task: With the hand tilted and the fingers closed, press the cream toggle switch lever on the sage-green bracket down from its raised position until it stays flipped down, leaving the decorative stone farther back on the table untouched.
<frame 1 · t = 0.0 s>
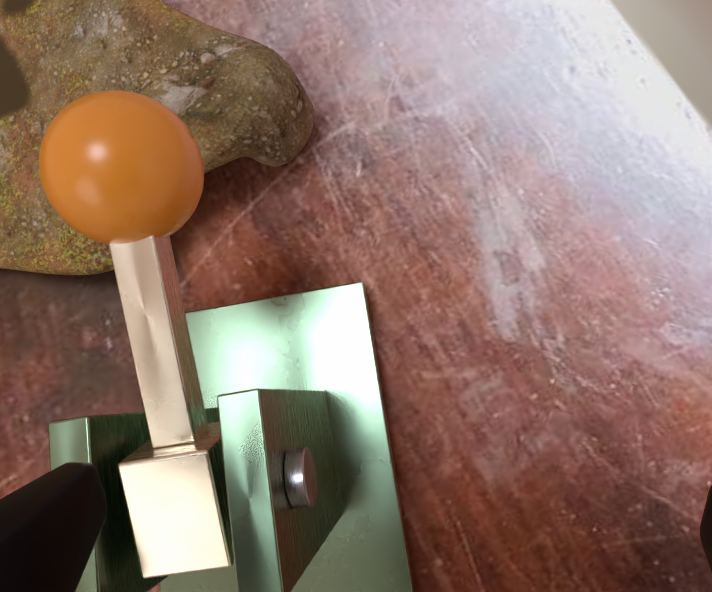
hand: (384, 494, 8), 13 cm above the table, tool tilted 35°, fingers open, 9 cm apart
switch bracket: (275, 457, 22), on the table
decorative stone: (21, 117, 26), on the table
switch lever: (158, 327, 14), point 9 cm above the table, hinge at 15.0°
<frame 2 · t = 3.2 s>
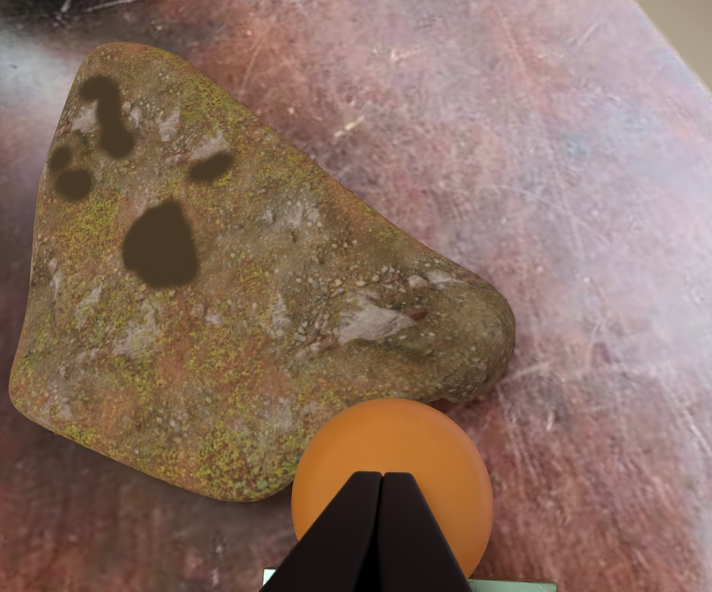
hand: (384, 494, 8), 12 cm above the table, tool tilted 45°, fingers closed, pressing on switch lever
decorative stone: (170, 278, 24), on the table
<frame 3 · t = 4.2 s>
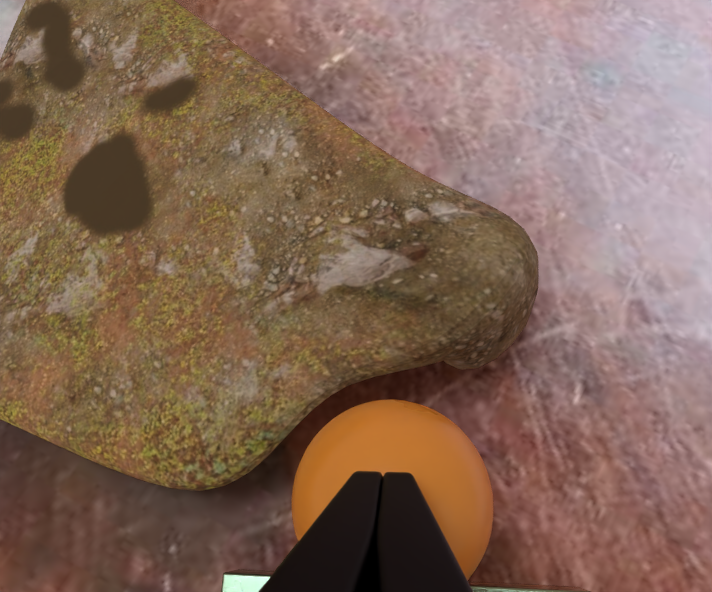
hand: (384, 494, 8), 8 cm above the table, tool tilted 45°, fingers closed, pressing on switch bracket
decorative stone: (126, 231, 20), on the table
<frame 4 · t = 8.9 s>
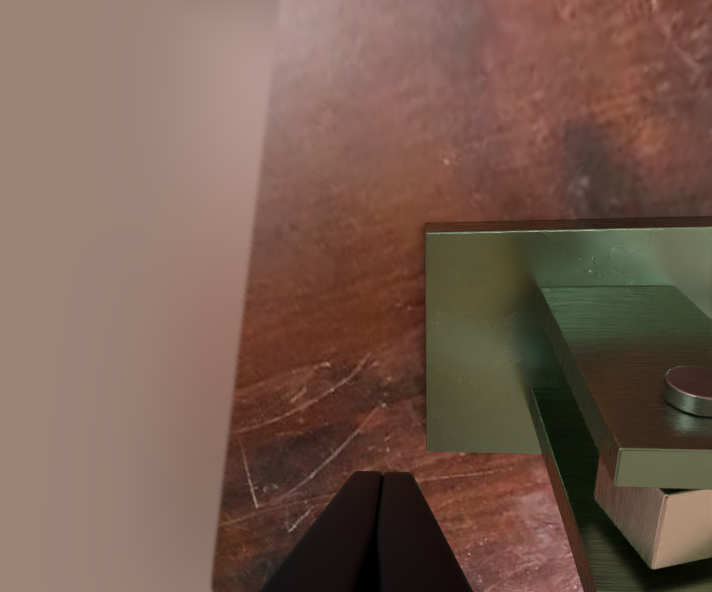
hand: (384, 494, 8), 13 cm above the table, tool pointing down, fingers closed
switch bracket: (588, 336, 21), on the table
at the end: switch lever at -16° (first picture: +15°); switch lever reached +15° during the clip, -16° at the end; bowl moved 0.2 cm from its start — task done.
